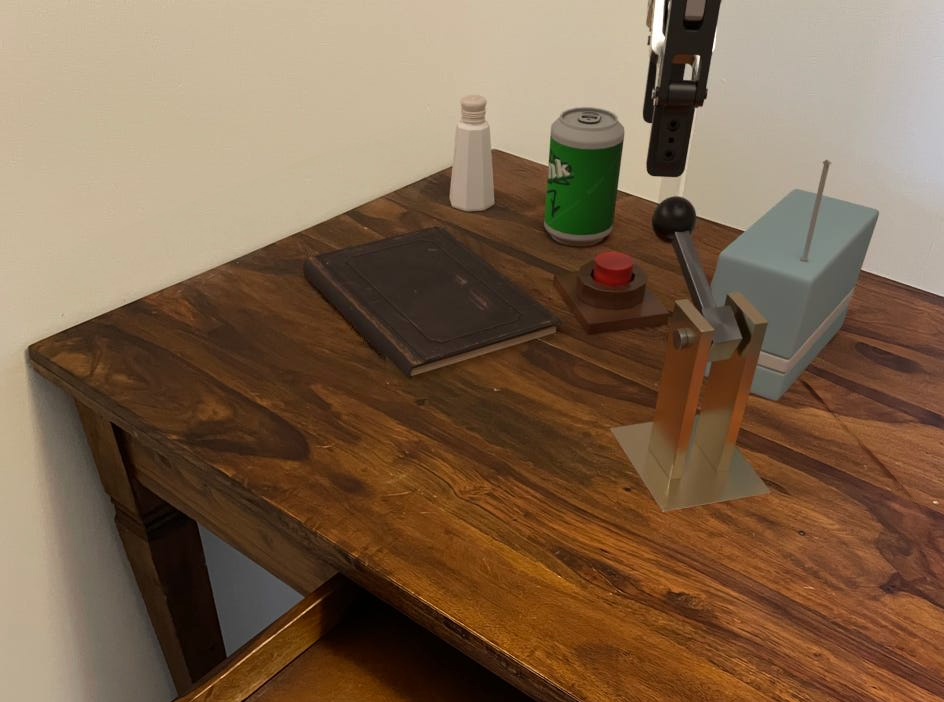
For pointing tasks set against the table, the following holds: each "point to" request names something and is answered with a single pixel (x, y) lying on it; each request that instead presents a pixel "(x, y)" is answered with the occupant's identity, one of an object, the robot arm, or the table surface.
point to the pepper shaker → (472, 158)
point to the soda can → (583, 175)
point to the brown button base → (610, 301)
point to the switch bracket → (698, 415)
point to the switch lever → (696, 273)
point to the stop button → (613, 268)
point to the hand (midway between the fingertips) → (661, 146)
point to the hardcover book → (427, 299)
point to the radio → (796, 278)
